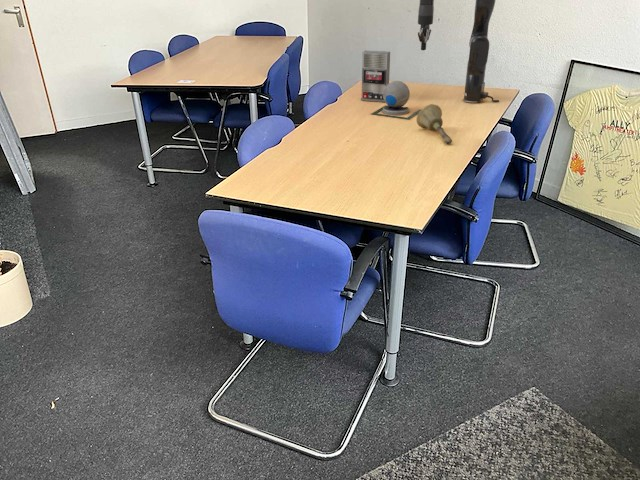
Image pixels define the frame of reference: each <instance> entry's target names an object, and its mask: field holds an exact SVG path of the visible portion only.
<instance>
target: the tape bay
mask: <svg viewBox="0 0 640 480" xmlns="http://www.w3.org/2000/svg"><path fill="white" fill-rule="evenodd" d="M385 106H386V105H384V106H383V107H385ZM383 107H382V106H381V108H379V109H377V110H376V111H374V112H372V113H371V115H375V116H380V117H381V116H382V117H387V118H396V119H402V120H411V119H412V118H413V117H415V116H417V115H418V113H419V111H420V110H421V109H418V110H417V111H415V112H414V113H412V114H411V115H408V117H404V116H398V115H389V114H384V113H379V112H381V111H383Z"/></svg>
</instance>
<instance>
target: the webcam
mask: <svg viewBox="0 0 640 480" xmlns="http://www.w3.org/2000/svg"><path fill="white" fill-rule="evenodd" d="M410 94H411V92H410V89H409V87H408V86H407V84H406V83H405V82H403V81H400V80H394V81H391V82H389V84H388V85H387V86H386V87H385V89H384V92H383V98H384V101H385V102H384V103H385V104H386V105H384V106H385V107H384V106H383V110H382V114H384V115H390V116H403V115H407V114H408V113H409V112H410V109H409V107H408V106H406V104H407V103H408V101H409V100H410V97H411V95H410Z"/></svg>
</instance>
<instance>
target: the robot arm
mask: <svg viewBox="0 0 640 480" xmlns="http://www.w3.org/2000/svg"><path fill="white" fill-rule="evenodd" d="M495 4H496V0H475V4H474V13H473V14H474V15H473V17H474V18H473V19H474V20H473V27H472V30H471V34H470V38H469V42H468V46H469V53H468V54H469V55H468V60H467V64H466V65H467V66H466V77H465V84H464V92H463V102H464V103H468V104H480V103H482V102H483V101H484V100H486V99H487V98H489V99H491V101H492V102H493V103H499V102H500V100H499V99H496V100H495V99H494V98H493V96H491V95H489V92H486V91H485V86H486V82H485V77H486V68H487V63H488V59H489V54H490V53H489V51H490V40H489V38H488V37H489V24H490V22H491V21H490V20H491V17H492V15H493V13H494V9H495ZM434 5H435V0H419V6H418V12H417V13H418V15H417V25H420V28H419V32H417V37H418V40H419V42H420V50H421V51H425V50H427V43H428V41H429V39H430V36H431V33H432V29H431V28H430V27H431V26H430V25H433V23H434V11H435V10H434V9H435V6H434Z"/></svg>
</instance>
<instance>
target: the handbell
mask: <svg viewBox="0 0 640 480" xmlns="http://www.w3.org/2000/svg"><path fill="white" fill-rule="evenodd" d="M419 110H420V111H419V113H418V114H416V123H417V126H419V127H420V128H422V129H428V130H429V131H431V132H437V133H438V134H439V135H440V137H441V138H442V140H443V142H444V143H445V144H446V145H449V144H452V142H453V139H452V137H450V135H449V134H447V133H446V131H444V128H443V127H442V126H443V124H444V123H443V119H442V116H443V110H442V108H441V107H440V106H439V105H437V104H434V103H432V104H431V103H430V104H428V105H426V106H424V107H423V108H421V109H419Z"/></svg>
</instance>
